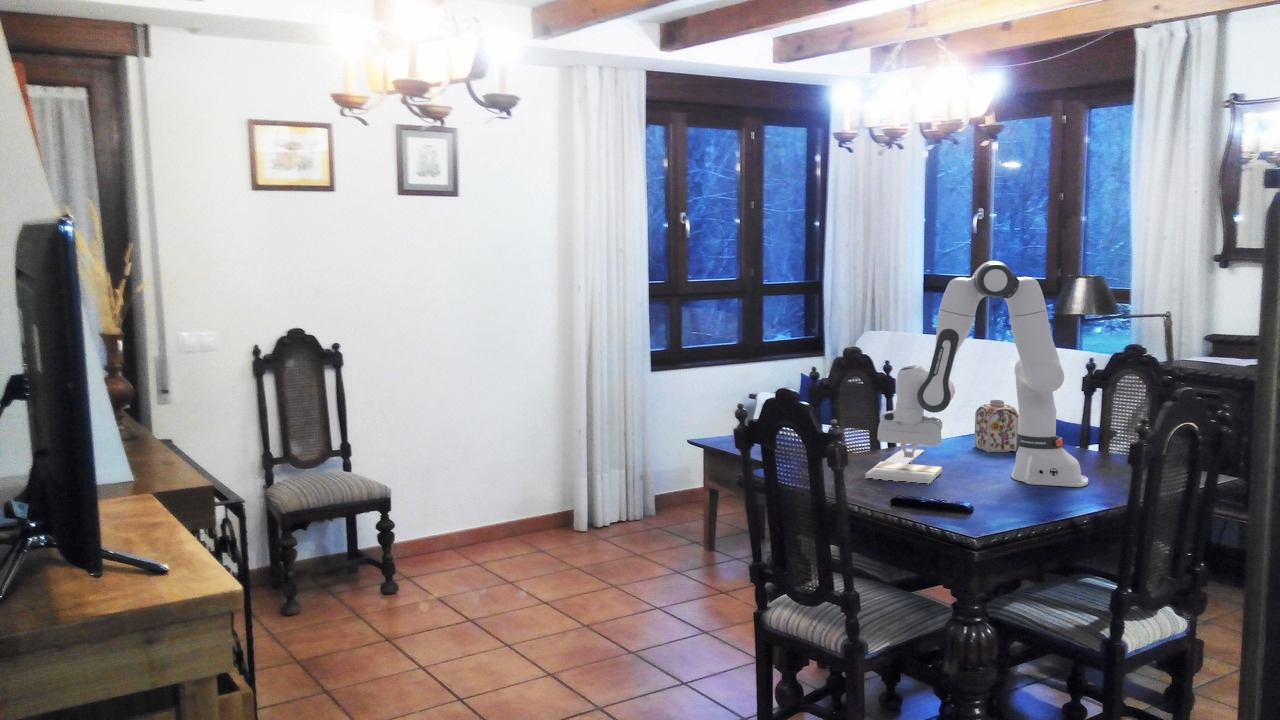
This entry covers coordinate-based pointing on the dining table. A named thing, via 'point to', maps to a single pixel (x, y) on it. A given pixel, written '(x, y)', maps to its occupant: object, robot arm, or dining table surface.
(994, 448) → the decorative jar
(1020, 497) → the dining table surface
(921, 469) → the birch plank
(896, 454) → the baseboard
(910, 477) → the white board
